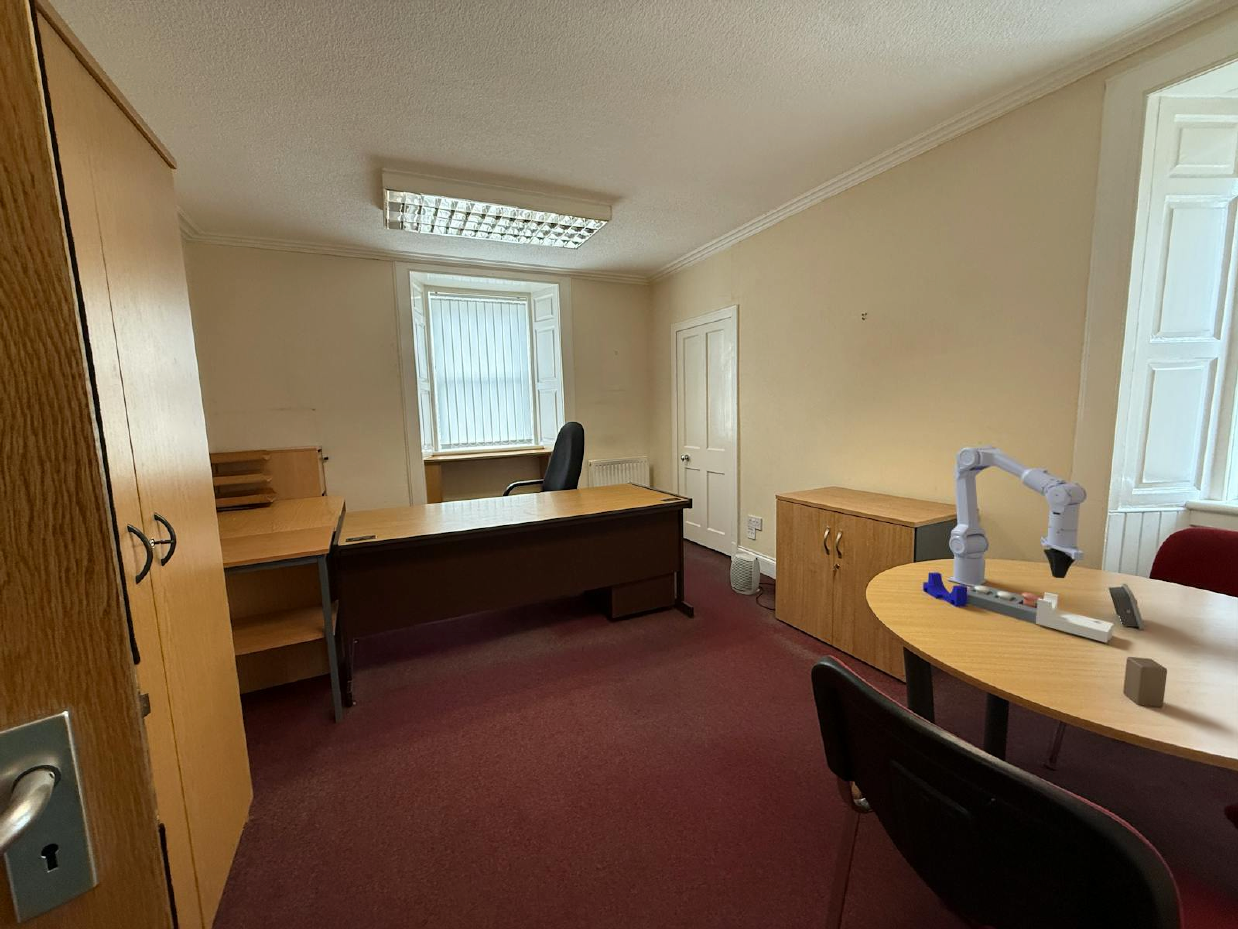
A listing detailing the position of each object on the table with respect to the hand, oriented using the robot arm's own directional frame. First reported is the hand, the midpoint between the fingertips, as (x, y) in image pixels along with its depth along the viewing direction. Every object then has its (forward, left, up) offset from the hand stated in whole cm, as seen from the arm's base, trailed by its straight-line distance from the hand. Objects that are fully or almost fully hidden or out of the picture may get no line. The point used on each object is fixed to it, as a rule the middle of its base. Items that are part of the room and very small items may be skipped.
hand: (1058, 577), depth 128 cm
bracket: (+9, +6, -11) cm, 15 cm away
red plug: (+6, -4, -9) cm, 11 cm away
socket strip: (+6, -10, -10) cm, 15 cm away
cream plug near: (+6, -15, -10) cm, 19 cm away
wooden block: (+35, +22, -11) cm, 43 cm away
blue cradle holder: (+12, -22, -11) cm, 27 cm away
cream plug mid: (+6, -10, -10) cm, 15 cm away
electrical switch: (-8, +12, -11) cm, 18 cm away
